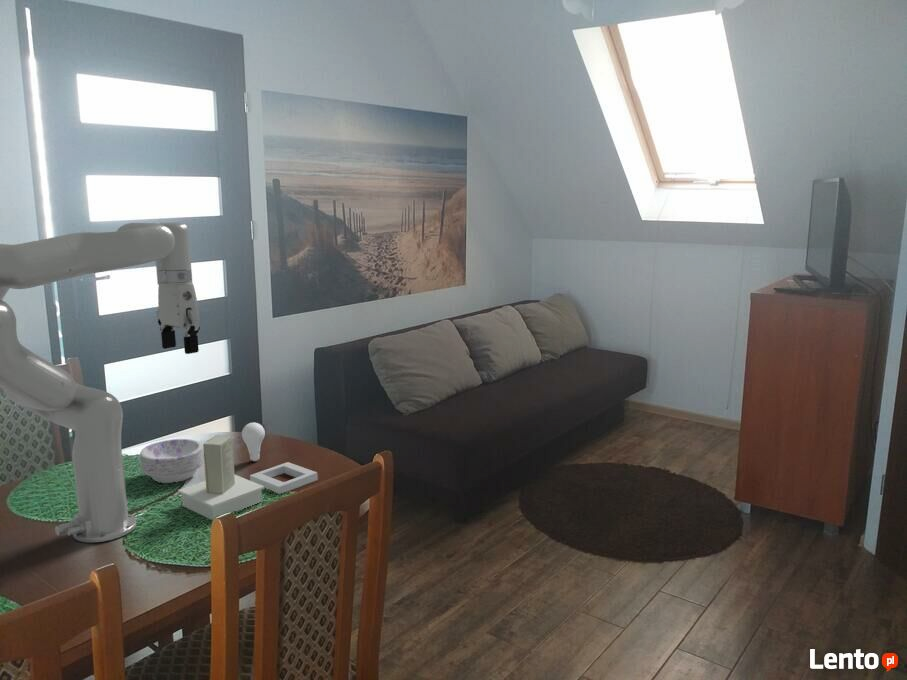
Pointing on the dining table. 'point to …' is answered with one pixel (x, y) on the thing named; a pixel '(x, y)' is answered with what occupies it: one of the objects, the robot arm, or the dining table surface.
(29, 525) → the dining table surface
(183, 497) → the stand
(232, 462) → the skincare box
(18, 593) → the dining table surface
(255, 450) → the lightbulb
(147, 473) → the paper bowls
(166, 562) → the dining table surface
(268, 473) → the frame
